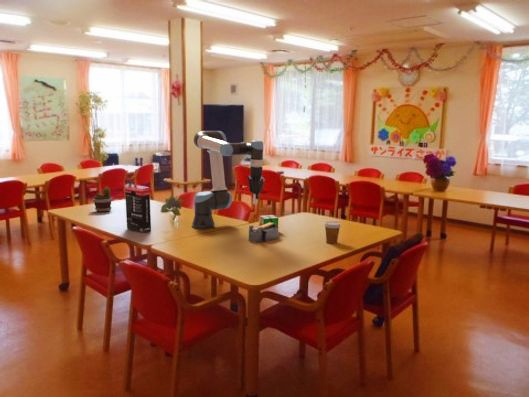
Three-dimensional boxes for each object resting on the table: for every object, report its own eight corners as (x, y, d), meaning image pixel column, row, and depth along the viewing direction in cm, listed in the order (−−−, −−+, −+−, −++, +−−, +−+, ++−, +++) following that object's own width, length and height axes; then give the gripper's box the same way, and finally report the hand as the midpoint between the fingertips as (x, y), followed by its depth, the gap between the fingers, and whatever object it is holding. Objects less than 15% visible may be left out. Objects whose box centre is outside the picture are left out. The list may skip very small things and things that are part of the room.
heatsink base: (246, 239, 276) (246, 225, 275) (265, 233, 291) (265, 220, 290) (261, 243, 269) (261, 228, 267) (280, 236, 284) (280, 222, 282)
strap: (251, 230, 274) (251, 228, 273) (268, 224, 286) (268, 221, 286) (257, 232, 271) (257, 229, 270) (274, 225, 283) (274, 222, 283)
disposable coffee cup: (340, 241, 276) (341, 222, 274) (338, 245, 267) (339, 225, 265) (325, 239, 279) (325, 220, 276) (322, 243, 270) (323, 224, 267)
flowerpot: (95, 213, 343) (93, 187, 339) (92, 210, 356) (90, 185, 352) (115, 212, 349) (113, 186, 346) (111, 208, 363) (110, 183, 359)
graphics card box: (152, 231, 294) (150, 189, 289) (143, 233, 288) (142, 191, 283) (134, 227, 303) (132, 187, 298) (125, 229, 297) (124, 188, 292)
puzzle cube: (273, 229, 303) (273, 214, 301) (278, 233, 294) (278, 218, 292) (258, 230, 300) (259, 215, 298) (263, 234, 291) (263, 218, 289)
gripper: (244, 165, 278) (243, 203, 282) (261, 167, 270) (259, 206, 275) (251, 164, 284) (250, 201, 288) (268, 166, 276) (267, 204, 281)
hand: (255, 203), depth 282 cm, fingers closed
